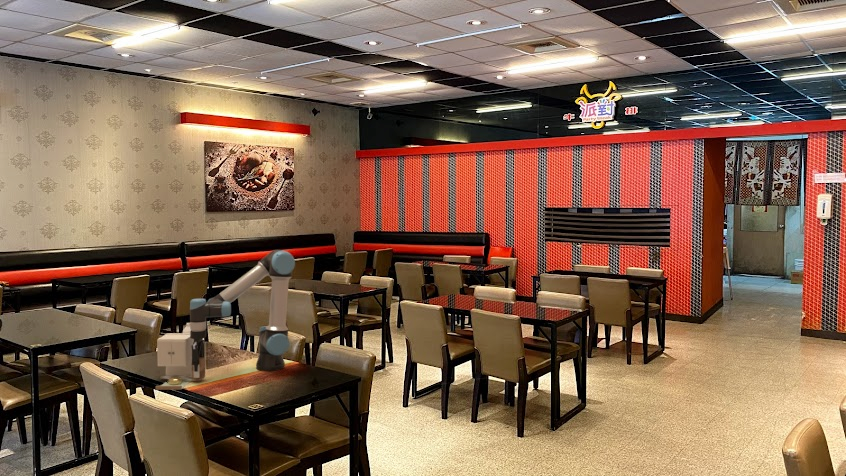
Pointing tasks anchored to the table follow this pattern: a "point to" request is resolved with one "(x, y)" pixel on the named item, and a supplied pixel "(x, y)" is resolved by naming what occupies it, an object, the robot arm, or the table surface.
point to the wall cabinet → (175, 353)
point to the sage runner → (173, 387)
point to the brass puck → (175, 381)
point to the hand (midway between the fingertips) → (198, 375)
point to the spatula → (202, 372)
